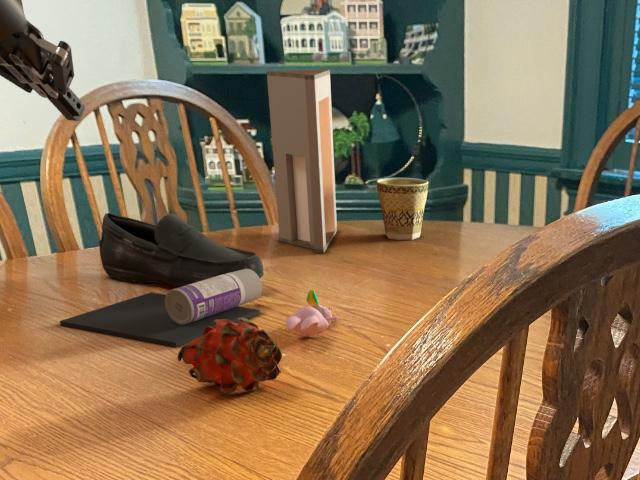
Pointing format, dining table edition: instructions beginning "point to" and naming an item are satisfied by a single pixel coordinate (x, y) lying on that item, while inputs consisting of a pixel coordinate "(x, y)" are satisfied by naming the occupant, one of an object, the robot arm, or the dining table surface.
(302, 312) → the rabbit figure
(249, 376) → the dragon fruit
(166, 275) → the loafer
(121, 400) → the dining table surface
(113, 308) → the mat
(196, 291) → the container
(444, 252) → the dining table surface
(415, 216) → the ceramic cup
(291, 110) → the cabinet
